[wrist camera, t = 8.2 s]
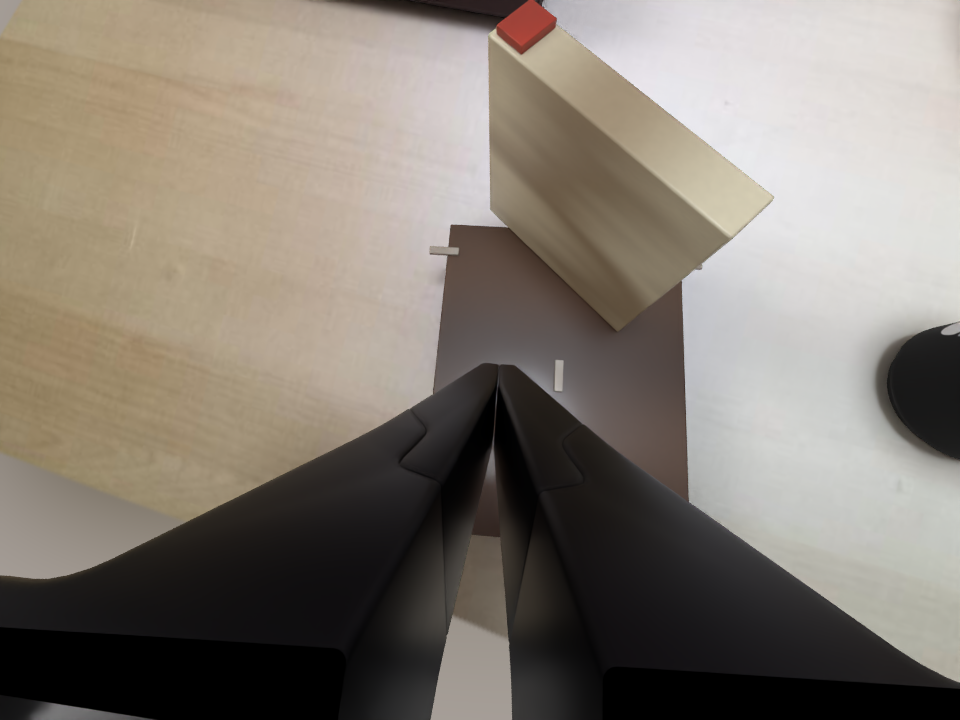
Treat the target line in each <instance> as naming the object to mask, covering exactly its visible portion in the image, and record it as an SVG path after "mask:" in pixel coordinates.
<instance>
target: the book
mask: <svg viewBox="0 0 960 720" xmlns="http://www.w3.org/2000/svg"><path fill="white" fill-rule="evenodd" d="M409 1H414V2H420V3H426V4H431V5H437V6H443V7H448V8H454V9H460V10H465V11H471V12H477V13H482V14H488V15H494V16H499V17H505V18H506V17H508V16H509V15H510V14H511V13H513V12H514V11H515V10H517V9H518V8H519V7H521V6H522V5H523V4H525V3H526V2H527V1H528V0H409ZM534 1H535V2H537V3H538V4H539V5H540V6H541V5H542V2H543V0H534Z"/></svg>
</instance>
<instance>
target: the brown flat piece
mask: <svg viewBox="0 0 960 720" xmlns="http://www.w3.org/2000/svg"><path fill="white" fill-rule="evenodd" d="M429 253H430V254H432V255H448V256H447V265H446V275H445V284H444V294H443V303H442V313H441V322H440V332H439V341H438V350H437V360H436V369H435V379H434V388H433V394H434V393H436V392H437V391H439V390H441V389H442V388H444V387H445V386H447V385H449V384H450V383H452V382H453V381H455V380H457V379H458V378H460V377H461V376H463V375H465V374H466V373H468V372H469V371H471V370H473V369H474V368H476V367H477V366H479V365H480V364H482V363H494V364H498V365H499V366H500V365H501V364H507V365H515V366H517V367H518V368H519V369H520V370H521V371H523V372H524V373H525V374H526V375H527V376H528V377H530V378H531V379H532V380H533V381H534V382H535V383H536V384H538V385H539V386H540V387H541V388H542V389H543V390H545V391H546V392H547V393H548V394H549V395H550V396H551V397H553V398H554V399H555V400H556V401H557V402H558V403H560V404H561V405H562V406H563V407H564V408H565V409H566V410H568V411H569V412H570V413H571V414H572V415H573V416H575V417H576V418H577V419H578V420H579V421H580V422H581V423H582V424H584V425H586V426H587V427H588V428H589V429H590V430H592V431H593V432H594V433H595V434H596V435H598V436H599V437H600V438H601V439H603V440H604V441H605V442H606V443H607V444H609V445H610V446H611V447H612V448H614V449H615V450H616V451H618V452H619V453H621V454H622V455H623V456H625V457H626V458H627V459H629V460H630V461H631V462H633V463H634V464H636V465H637V466H638V467H640V468H641V469H643V470H644V471H645V472H647V473H648V474H650V475H651V476H653V477H654V478H655V479H657V480H658V481H660V482H661V483H662V484H664V485H665V486H667V487H668V488H670V489H671V490H672V491H674V492H675V493H677V494H678V495H679V496H681V497H682V498H684V499H685V500H687V501H688V502H689V497H688V466H687V435H686V404H685V374H684V343H683V312H682V281H680V282H679V283H678V284H676V285H675V286H674V287H673V288H672V289H670V290H669V291H668V292H667V293H665V294H664V295H663V296H662V297H661V298H659V299H658V300H657V301H656V302H654V303H653V304H652V305H651V306H650V307H648V308H647V309H646V310H645V311H643V312H642V313H641V314H640V315H639V316H637V317H636V318H635V319H634V320H632V321H631V322H630V323H629V324H627V325H626V326H625V327H624V328H623V329H621V330H620V331H619V332H617V331H616V330H615V329H614V328H613V327H612V326H611V325H610V324H609V323H608V322H607V321H606V320H604V319H603V318H602V317H601V316H600V315H599V314H598V313H597V312H596V311H595V310H594V309H593V308H592V307H591V306H590V305H589V304H588V303H587V302H586V301H585V300H584V299H583V298H582V297H581V296H579V295H578V294H577V293H576V292H575V291H574V290H573V289H572V288H571V287H570V286H569V285H568V284H567V283H566V282H565V281H564V280H563V279H562V278H561V277H560V276H559V275H558V274H557V273H556V272H554V271H553V270H552V269H551V268H550V267H549V266H548V265H547V264H546V263H545V262H544V261H543V260H542V259H541V258H540V257H539V256H538V255H537V254H536V253H535V252H534V251H533V250H532V249H531V248H529V247H528V246H527V245H526V244H525V243H524V242H523V241H522V240H521V239H520V238H519V237H518V236H517V235H516V234H515V233H514V232H513V231H512V230H511V229H510V228H506V227H487V226H468V225H451V228H450V237H449V247H435V246H430V251H429ZM701 269H702V264H701V265H700V266H698V267H697V268H696V269H695V270H701ZM498 375H499V373H498ZM497 388H498V386H497ZM496 401H497V398H496ZM495 414H496V411H495ZM494 427H495V424H494ZM472 535H482V536H493V537H500V524H499V511H498V498H497V486H496V473H495V460H494V437H493V445H492V450H491V454H490V458H489V463H488V467H487V471H486V475H485V479H484V483H483V488H482V492H481V496H480V500H479V504H478V509H477V513H476V517H475V521H474V525H473V530H472Z"/></svg>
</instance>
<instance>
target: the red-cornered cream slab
mask: <svg viewBox="0 0 960 720" xmlns="http://www.w3.org/2000/svg"><path fill="white" fill-rule="evenodd" d="M556 21H557V18H556V17H554V16H553V15H552V14H550V13H549V12H548V11H547V10H545V9H544V8H543V7H542V6H540V5H539V4H538V3H537V2H535V1H534V0H528V1H527V2H526V3H525V4H523V5H522V6H521V7H519V8H518V9H517V10H515V11H514V12H513V13H511V14H510V15H509V16H508V17H506V18H505V19H504V20H502V21H501V22H500V23H498V24H497V26H496V29H494V30H493V31H492V32H490V33H489V35H488V60H489V142H490V210H491V211H492V212H493V213H494V214H495V215H496V216H497V217H498V218H499V219H500V220H501V221H502V222H503V223H504V224H506V225H507V226H508V227H509V228H510V229H511V230H512V231H513V232H514V233H515V234H516V235H517V236H518V237H519V238H520V239H521V240H522V241H523V242H524V243H525V244H526V245H527V246H528V247H529V248H531V249H532V250H533V251H534V252H535V253H536V254H537V255H538V256H539V257H540V258H541V259H542V260H543V261H544V262H545V263H546V264H547V265H548V266H549V267H550V268H551V269H552V270H553V271H554V272H556V273H557V274H558V275H559V276H560V277H561V278H562V279H563V280H564V281H565V282H566V283H567V284H568V285H569V286H570V287H571V288H572V289H573V290H574V291H575V292H576V293H577V294H578V295H579V296H581V297H582V298H583V299H584V300H585V301H586V302H587V303H588V304H589V305H590V306H591V307H592V308H593V309H594V310H595V311H596V312H597V313H598V314H599V315H600V316H601V317H602V318H603V319H604V320H606V321H607V322H608V323H609V324H610V325H611V326H612V327H613V328H614V329H615V330H616V331H617V332H619V331H620V330H621V329H623V328H624V327H625V326H626V325H627V324H629V323H630V322H631V321H632V320H634V319H635V318H636V317H637V316H639V315H640V314H641V313H642V312H643V311H645V310H646V309H647V308H648V307H650V306H651V305H652V304H653V303H654V302H656V301H657V300H658V299H659V298H661V297H662V296H663V295H664V294H665V293H667V292H668V291H669V290H670V289H672V288H673V287H674V286H675V285H676V284H678V283H679V282H680V281H681V280H683V279H684V278H685V277H686V276H687V275H689V274H690V273H691V272H692V271H694V270H695V269H696V268H697V267H698V266H700V265H701V264H702V263H703V262H705V261H706V260H707V259H708V258H709V257H711V256H712V255H713V254H714V253H716V252H717V251H718V250H719V249H720V248H722V247H723V246H724V245H725V244H727V243H728V242H729V241H730V240H732V239H733V238H734V237H735V236H736V235H737V234H738V233H739V232H740V231H741V230H742V229H743V228H744V227H745V226H746V225H748V224H749V223H750V222H751V221H752V220H753V219H754V218H755V217H756V216H757V215H758V214H759V213H760V212H761V211H762V210H763V209H764V208H766V207H767V206H768V205H769V204H770V203H771V202H772V201H773V199H774V197H773V196H772V195H771V194H770V193H769V192H767V191H766V190H765V189H764V188H762V187H761V186H760V185H759V184H757V183H756V182H755V181H754V180H752V179H751V178H750V177H749V176H747V175H746V174H745V173H743V172H742V171H741V170H740V169H738V168H737V167H736V166H735V165H733V164H732V163H731V162H730V161H728V160H727V159H726V158H725V157H723V156H722V155H721V154H719V153H718V152H717V151H716V150H714V149H713V148H712V147H711V146H709V145H708V144H707V143H706V142H704V141H703V140H702V139H701V138H699V137H698V136H697V135H696V134H694V133H693V132H692V131H690V130H689V129H688V128H687V127H685V126H684V125H683V124H682V123H680V122H679V121H678V120H677V119H675V118H674V117H673V116H672V115H670V114H669V113H668V112H666V111H665V110H664V109H663V108H661V107H660V106H659V105H658V104H656V103H655V102H654V101H653V100H651V99H650V98H649V97H648V96H646V95H645V94H644V93H643V92H641V91H640V90H639V89H637V88H636V87H635V86H634V85H632V84H631V83H630V82H629V81H627V80H626V79H625V78H624V77H622V76H621V75H620V74H619V73H617V72H616V71H615V70H613V69H612V68H611V67H610V66H608V65H607V64H606V63H605V62H603V61H602V60H601V59H600V58H598V57H597V56H596V55H595V54H593V53H592V52H591V51H590V50H588V49H587V48H586V47H584V46H583V45H582V44H581V43H579V42H578V41H577V40H576V39H574V38H573V37H572V36H571V35H569V34H568V33H567V32H566V31H564V30H563V29H562V28H560V27H559V26H558V25H557V24H556Z"/></svg>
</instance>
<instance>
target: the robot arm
mask: <svg viewBox="0 0 960 720" xmlns="http://www.w3.org/2000/svg"><path fill="white" fill-rule="evenodd" d="M498 373H499V375H498ZM497 386H498V388H497ZM496 398H497V401H496ZM495 411H496V414H495ZM494 424H495V427H494ZM493 437H494V460H495V473H496V486H497V498H498V511H499V524H500V537H501V549H502V562H503V575H504V587H505V600H506V613H507V626H508V638H509V643H510V644H509V649H510V650H509V651H510V665H511V686H512V687H511V689H512V720H960V683H959V682H956V681H954V680H951V679H949V678H946V677H944V676H942V675H941V674H939V673H937V672H935V671H933V670H931V669H929V668H927V667H925V666H923V665H921V664H920V663H918V662H916V661H915V660H913V659H912V658H910V657H909V656H907V655H906V654H904V653H902V652H901V651H899V650H898V649H896V648H895V647H893V646H892V645H890V644H889V643H888V642H886V641H885V640H883V639H882V638H881V637H879V636H878V635H876V634H875V633H873V632H872V631H871V630H869V629H868V628H866V627H865V626H864V625H862V624H861V623H859V622H858V621H856V620H855V619H854V618H852V617H851V616H849V615H848V614H847V613H845V612H844V611H842V610H841V609H839V608H838V607H837V606H835V605H834V604H832V603H831V602H830V601H828V600H827V599H825V598H824V597H823V596H821V595H820V594H818V593H817V592H815V591H814V590H813V589H811V588H810V587H808V586H807V585H806V584H804V583H803V582H801V581H800V580H798V579H797V578H796V577H794V576H793V575H791V574H790V573H789V572H787V571H786V570H784V569H783V568H781V567H780V566H779V565H777V564H776V563H774V562H773V561H772V560H770V559H769V558H767V557H766V556H764V555H763V554H762V553H760V552H759V551H757V550H756V549H755V548H753V547H752V546H750V545H749V544H747V543H746V542H745V541H743V540H742V539H740V538H739V537H738V536H736V535H735V534H733V533H732V532H730V531H729V530H728V529H726V528H725V527H723V526H722V525H721V524H719V523H718V522H716V521H715V520H713V519H712V518H711V517H709V516H708V515H706V514H705V513H704V512H702V511H701V510H699V509H698V508H696V507H695V506H694V505H692V504H691V503H689V502H688V501H687V500H685V499H684V498H682V497H681V496H679V495H678V494H677V493H675V492H674V491H672V490H671V489H670V488H668V487H667V486H665V485H664V484H662V483H661V482H660V481H658V480H657V479H655V478H654V477H653V476H651V475H650V474H648V473H647V472H645V471H644V470H643V469H641V468H640V467H638V466H637V465H636V464H634V463H633V462H631V461H630V460H629V459H627V458H626V457H625V456H623V455H622V454H621V453H619V452H618V451H616V450H615V449H614V448H612V447H611V446H610V445H609V444H607V443H606V442H605V441H604V440H603V439H601V438H600V437H599V436H598V435H596V434H595V433H594V432H593V431H592V430H590V429H589V428H588V427H587V426H586V425H584V424H582V423H581V422H580V421H579V420H578V419H577V418H576V417H575V416H573V415H572V414H571V413H570V412H569V411H568V410H566V409H565V408H564V407H563V406H562V405H561V404H560V403H558V402H557V401H556V400H555V399H554V398H553V397H551V396H550V395H549V394H548V393H547V392H546V391H545V390H543V389H542V388H541V387H540V386H539V385H538V384H536V383H535V382H534V381H533V380H532V379H531V378H530V377H528V376H527V375H526V374H525V373H524V372H523V371H521V370H520V369H519V368H518V367H517V366H515V365H507V364H501V365H500V366H499V365H498V364H494V363H482V364H480V365H479V366H477V367H476V368H474V369H473V370H471V371H469V372H468V373H466V374H465V375H463V376H461V377H460V378H458V379H457V380H455V381H453V382H452V383H450V384H449V385H447V386H445V387H444V388H442V389H441V390H439V391H437V392H436V393H434V394H433V395H431V396H430V397H428V398H426V399H425V400H423V401H422V402H420V403H418V404H417V405H415V406H414V407H412V408H410V409H408V410H406V411H405V412H403V413H401V414H400V415H398V416H396V417H395V418H393V419H391V420H390V421H388V422H386V423H384V424H383V425H381V426H379V427H377V428H375V429H374V430H372V431H370V432H368V433H366V434H364V435H362V436H360V437H358V438H356V439H354V440H352V441H350V442H348V443H346V444H344V445H342V446H340V447H338V448H336V449H334V450H332V451H330V452H328V453H326V454H324V455H322V456H320V457H318V458H316V459H314V460H312V461H310V462H308V463H306V464H304V465H301V466H299V467H297V468H295V469H293V470H291V471H289V472H287V473H285V474H283V475H281V476H279V477H277V478H275V479H273V480H271V481H269V482H267V483H265V484H263V485H261V486H259V487H257V488H255V489H253V490H251V491H249V492H247V493H245V494H243V495H241V496H239V497H237V498H235V499H233V500H231V501H229V502H227V503H224V504H222V505H220V506H218V507H216V508H214V509H212V510H210V511H208V512H206V513H204V514H202V515H200V516H198V517H196V518H194V519H192V520H190V521H188V522H186V523H184V524H182V525H180V526H178V527H176V528H174V529H172V530H170V531H168V532H166V533H164V534H162V535H160V536H158V537H156V538H154V539H152V540H150V541H147V542H146V543H143V544H141V545H139V546H137V547H135V548H133V549H131V550H129V551H127V552H125V553H123V554H121V555H119V556H117V557H115V558H113V559H111V560H109V561H106V562H104V563H102V564H99V565H97V566H95V567H92V568H90V569H87V570H83V571H81V572H77V573H74V574H71V575H67V576H61V577H57V578H51V579H30V578H21V577H13V576H0V720H430V719H431V713H432V708H433V703H434V697H435V692H436V686H437V680H438V675H439V671H440V665H441V661H442V656H443V652H444V647H445V643H446V635H447V634H448V630H449V626H450V622H451V618H452V614H453V609H454V605H455V601H456V597H457V593H458V588H459V584H460V580H461V576H462V572H463V567H464V563H465V559H466V555H467V551H468V546H469V542H470V538H471V534H472V530H473V525H474V521H475V517H476V513H477V509H478V504H479V500H480V496H481V492H482V488H483V483H484V479H485V475H486V471H487V467H488V463H489V458H490V454H491V450H492V445H493Z"/></svg>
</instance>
